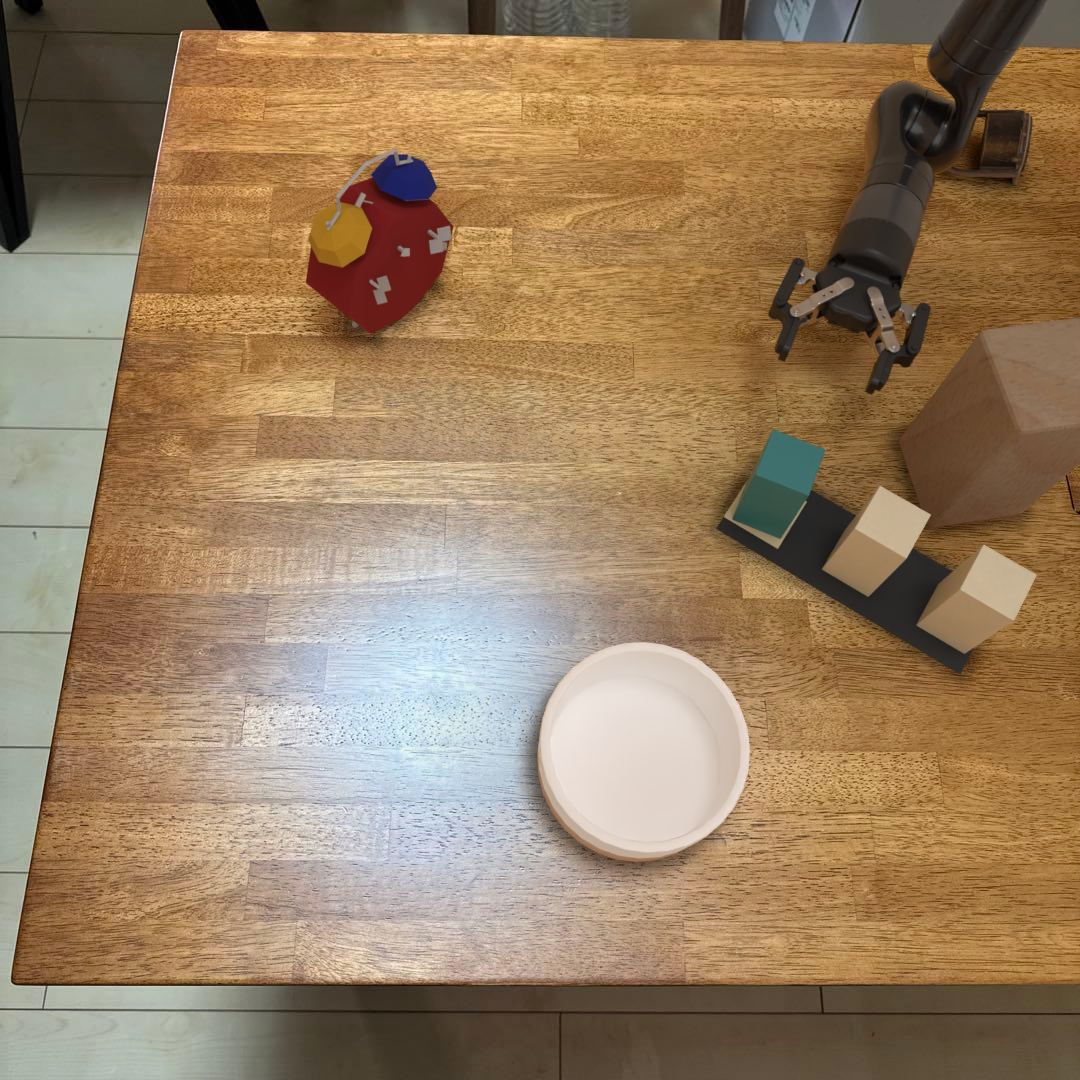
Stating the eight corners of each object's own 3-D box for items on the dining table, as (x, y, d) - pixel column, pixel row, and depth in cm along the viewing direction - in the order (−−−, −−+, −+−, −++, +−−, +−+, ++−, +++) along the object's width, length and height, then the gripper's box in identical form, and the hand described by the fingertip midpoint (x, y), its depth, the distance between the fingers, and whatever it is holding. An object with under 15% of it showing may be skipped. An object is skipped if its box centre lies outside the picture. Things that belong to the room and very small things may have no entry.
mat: (997, 599, 97) (999, 597, 97) (958, 675, 94) (960, 674, 94) (759, 462, 102) (760, 459, 102) (715, 530, 99) (716, 528, 99)
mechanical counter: (1023, 185, 110) (1068, 113, 111) (920, 124, 111) (966, 54, 112) (994, 216, 117) (1037, 149, 118) (898, 159, 118) (942, 93, 119)
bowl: (743, 691, 93) (764, 666, 85) (713, 884, 87) (733, 876, 79) (559, 648, 94) (564, 620, 86) (516, 836, 88) (517, 824, 80)
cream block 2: (986, 611, 96) (1037, 574, 87) (964, 654, 95) (1014, 620, 85) (938, 583, 97) (983, 544, 88) (915, 625, 96) (959, 589, 86)
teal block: (796, 496, 100) (826, 449, 91) (780, 539, 98) (809, 495, 89) (748, 477, 101) (773, 428, 92) (731, 519, 99) (755, 474, 90)
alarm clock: (415, 241, 111) (397, 97, 93) (473, 285, 109) (467, 148, 91) (317, 325, 107) (277, 192, 88) (375, 373, 105) (348, 247, 86)
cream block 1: (891, 556, 98) (931, 514, 89) (868, 597, 96) (906, 558, 87) (845, 529, 99) (880, 485, 90) (821, 569, 97) (854, 528, 88)
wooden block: (1021, 516, 101) (1137, 416, 82) (925, 530, 100) (1020, 432, 81) (988, 427, 104) (1092, 313, 86) (895, 440, 104) (980, 327, 85)
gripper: (816, 193, 98) (763, 322, 92) (961, 243, 96) (916, 378, 90) (796, 244, 105) (745, 367, 99) (930, 291, 103) (887, 420, 97)
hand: (827, 372), depth 94 cm, fingers open, 8 cm apart
